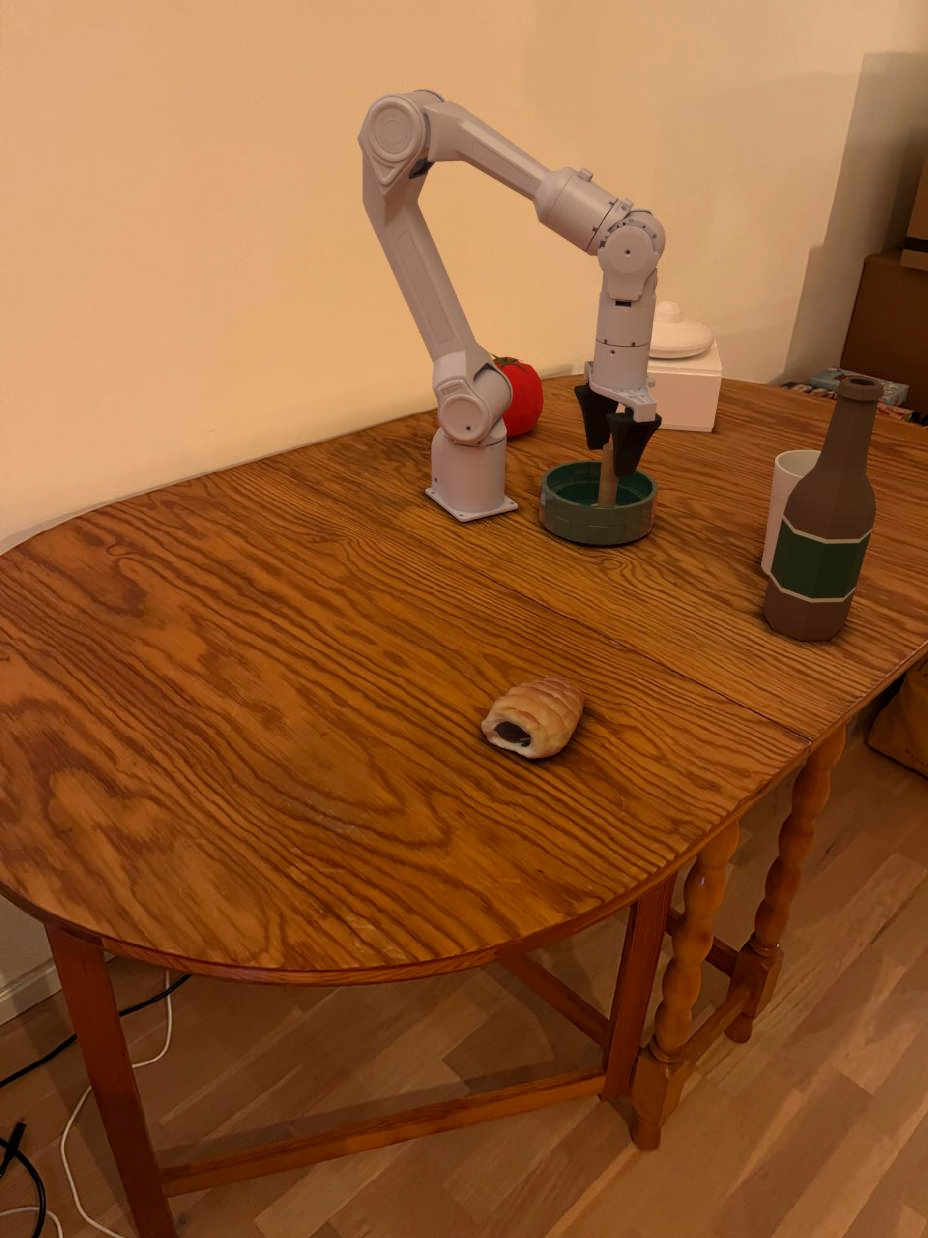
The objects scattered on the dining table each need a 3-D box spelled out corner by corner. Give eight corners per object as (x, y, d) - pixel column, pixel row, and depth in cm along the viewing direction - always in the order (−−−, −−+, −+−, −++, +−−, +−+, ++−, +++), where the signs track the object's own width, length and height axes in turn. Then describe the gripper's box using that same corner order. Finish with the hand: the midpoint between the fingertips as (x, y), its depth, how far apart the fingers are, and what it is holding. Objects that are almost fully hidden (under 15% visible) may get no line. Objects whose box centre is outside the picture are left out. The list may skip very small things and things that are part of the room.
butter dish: (590, 423, 134) (600, 312, 125) (595, 384, 149) (605, 282, 140) (712, 432, 131) (731, 319, 123) (705, 391, 146) (722, 288, 138)
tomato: (544, 449, 125) (549, 373, 119) (454, 448, 125) (454, 372, 119) (538, 415, 136) (542, 344, 131) (455, 414, 136) (456, 342, 131)
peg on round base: (578, 517, 106) (584, 445, 102) (602, 507, 109) (610, 435, 104) (606, 531, 104) (615, 456, 99) (631, 519, 106) (640, 446, 101)
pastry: (534, 683, 80) (537, 647, 78) (603, 712, 77) (608, 675, 75) (474, 740, 74) (475, 703, 72) (546, 774, 71) (550, 736, 69)
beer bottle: (843, 609, 91) (909, 372, 78) (844, 650, 85) (915, 401, 72) (763, 595, 93) (814, 362, 80) (758, 635, 87) (812, 389, 74)
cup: (835, 592, 94) (864, 484, 88) (755, 583, 95) (778, 477, 89) (825, 555, 101) (852, 453, 94) (751, 547, 102) (772, 446, 95)
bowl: (517, 512, 109) (519, 473, 106) (606, 490, 114) (610, 452, 112) (582, 559, 99) (586, 518, 97) (676, 533, 105) (682, 493, 102)
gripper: (690, 357, 90) (671, 483, 97) (629, 318, 102) (616, 434, 109) (624, 362, 88) (610, 490, 96) (570, 322, 100) (561, 439, 108)
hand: (610, 461), depth 102 cm, fingers open, 7 cm apart
